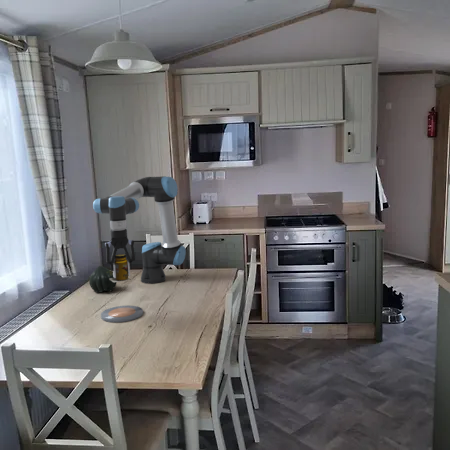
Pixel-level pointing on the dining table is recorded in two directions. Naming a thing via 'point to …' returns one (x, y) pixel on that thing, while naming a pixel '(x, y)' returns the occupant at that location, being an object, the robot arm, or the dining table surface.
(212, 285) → the dining table surface
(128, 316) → the ring stand
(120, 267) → the condiment
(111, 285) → the squash
